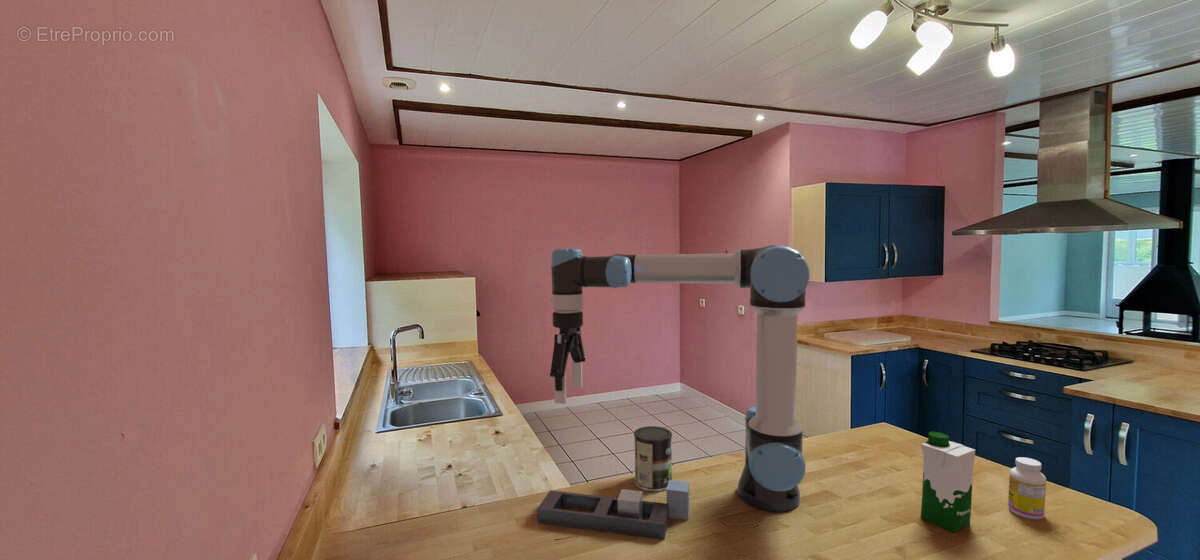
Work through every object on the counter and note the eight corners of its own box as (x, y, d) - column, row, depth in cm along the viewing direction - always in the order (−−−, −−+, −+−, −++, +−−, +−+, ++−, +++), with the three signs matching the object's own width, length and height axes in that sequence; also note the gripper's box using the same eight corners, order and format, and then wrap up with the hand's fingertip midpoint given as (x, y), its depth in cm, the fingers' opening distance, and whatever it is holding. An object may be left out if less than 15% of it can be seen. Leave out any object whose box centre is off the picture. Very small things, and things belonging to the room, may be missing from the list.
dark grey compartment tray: (668, 517, 118) (668, 503, 118) (664, 539, 110) (664, 524, 109) (550, 503, 126) (549, 490, 125) (537, 523, 117) (537, 508, 117)
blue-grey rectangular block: (689, 509, 122) (689, 481, 122) (687, 520, 117) (687, 491, 117) (668, 506, 123) (668, 479, 123) (666, 517, 118) (666, 489, 118)
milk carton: (935, 507, 121) (938, 428, 120) (977, 525, 113) (981, 441, 112) (914, 516, 117) (917, 434, 116) (956, 536, 109) (959, 449, 108)
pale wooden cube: (642, 519, 118) (642, 491, 117) (639, 531, 113) (639, 502, 112) (622, 517, 119) (621, 489, 118) (617, 528, 114) (617, 499, 114)
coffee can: (673, 475, 140) (672, 426, 139) (670, 493, 130) (670, 441, 129) (636, 472, 142) (636, 424, 141) (631, 490, 132) (631, 438, 131)
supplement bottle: (1009, 502, 123) (1012, 452, 122) (1045, 512, 118) (1048, 460, 117) (1005, 513, 118) (1008, 461, 117) (1043, 524, 114) (1046, 470, 113)
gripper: (568, 304, 136) (570, 380, 137) (534, 318, 112) (536, 409, 113) (595, 304, 134) (596, 381, 135) (566, 318, 110) (568, 412, 111)
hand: (569, 394), depth 124 cm, fingers open, 13 cm apart
